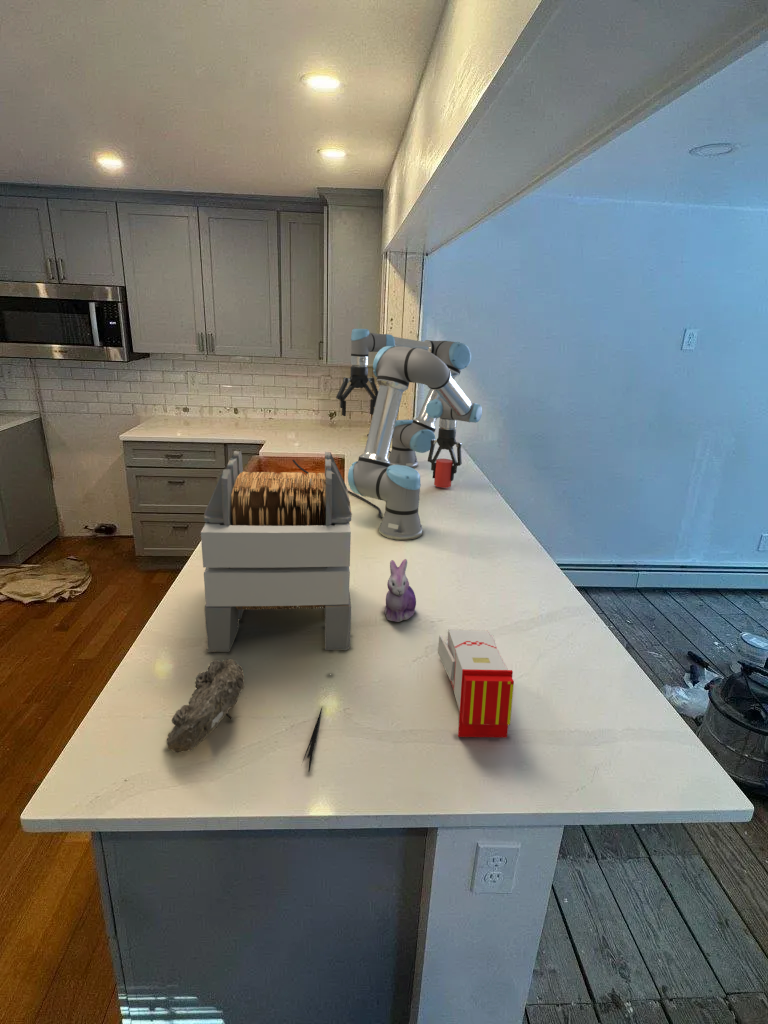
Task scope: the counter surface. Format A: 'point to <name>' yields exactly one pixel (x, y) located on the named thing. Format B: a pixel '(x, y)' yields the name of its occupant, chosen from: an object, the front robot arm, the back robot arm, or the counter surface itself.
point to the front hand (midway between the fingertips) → (443, 478)
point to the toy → (478, 682)
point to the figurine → (399, 594)
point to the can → (443, 473)
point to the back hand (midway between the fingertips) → (358, 415)
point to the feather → (313, 740)
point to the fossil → (206, 705)
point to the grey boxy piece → (277, 549)
